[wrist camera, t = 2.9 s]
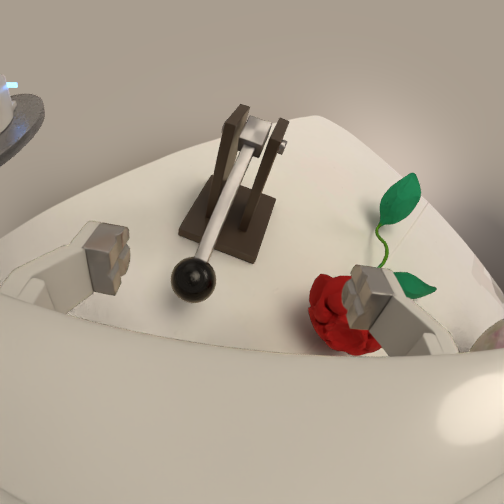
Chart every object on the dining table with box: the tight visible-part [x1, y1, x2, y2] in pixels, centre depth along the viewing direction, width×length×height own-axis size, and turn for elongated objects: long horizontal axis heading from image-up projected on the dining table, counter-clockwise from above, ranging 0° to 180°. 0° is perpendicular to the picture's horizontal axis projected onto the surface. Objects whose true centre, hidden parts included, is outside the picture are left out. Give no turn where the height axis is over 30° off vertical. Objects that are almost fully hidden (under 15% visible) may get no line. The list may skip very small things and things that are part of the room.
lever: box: [171, 116, 272, 303], centre depth 24 cm, size 17×4×4 cm, turn 164°
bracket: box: [179, 104, 289, 264], centre depth 29 cm, size 10×9×14 cm
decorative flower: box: [308, 173, 437, 356], centre depth 32 cm, size 14×30×10 cm, turn 138°
